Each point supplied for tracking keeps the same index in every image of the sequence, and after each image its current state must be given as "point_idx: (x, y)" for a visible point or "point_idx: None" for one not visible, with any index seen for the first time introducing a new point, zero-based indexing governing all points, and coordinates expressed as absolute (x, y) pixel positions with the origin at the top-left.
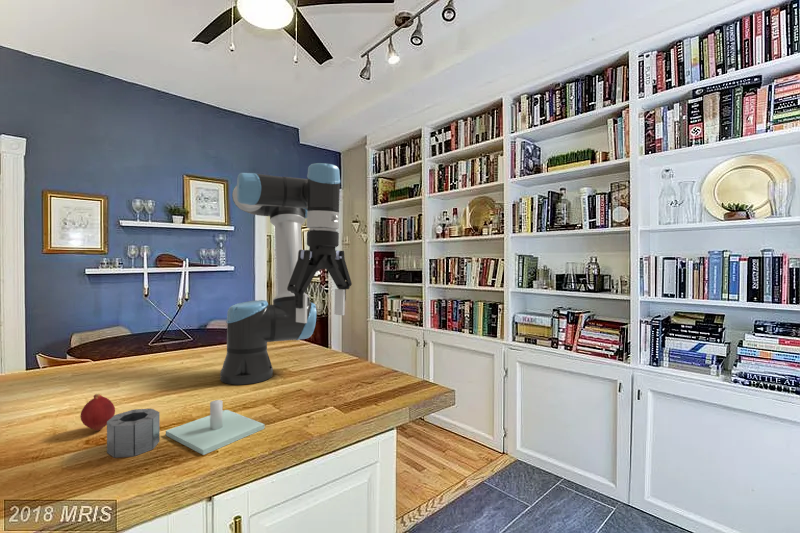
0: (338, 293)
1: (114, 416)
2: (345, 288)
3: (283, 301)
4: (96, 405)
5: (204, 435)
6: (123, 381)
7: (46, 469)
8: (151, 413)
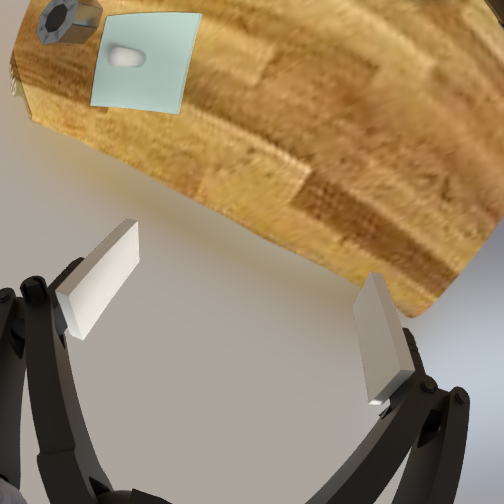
0: (381, 367)
1: (51, 1)
2: (384, 410)
3: None
4: None
5: (114, 69)
6: None
7: (37, 16)
8: (67, 20)
